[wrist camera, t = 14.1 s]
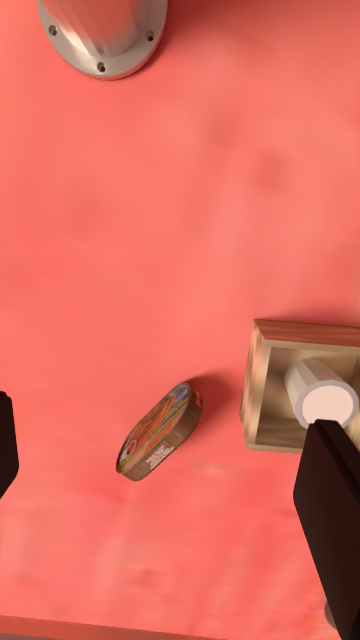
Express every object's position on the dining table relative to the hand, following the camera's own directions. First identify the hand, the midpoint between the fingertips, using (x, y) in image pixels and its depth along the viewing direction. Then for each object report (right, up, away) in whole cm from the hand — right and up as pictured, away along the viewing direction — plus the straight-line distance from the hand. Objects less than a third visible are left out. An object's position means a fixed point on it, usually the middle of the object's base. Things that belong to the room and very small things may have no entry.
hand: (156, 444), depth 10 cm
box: (+17, -3, +32) cm, 36 cm away
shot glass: (+17, -4, +31) cm, 36 cm away
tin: (-2, -9, +35) cm, 37 cm away
